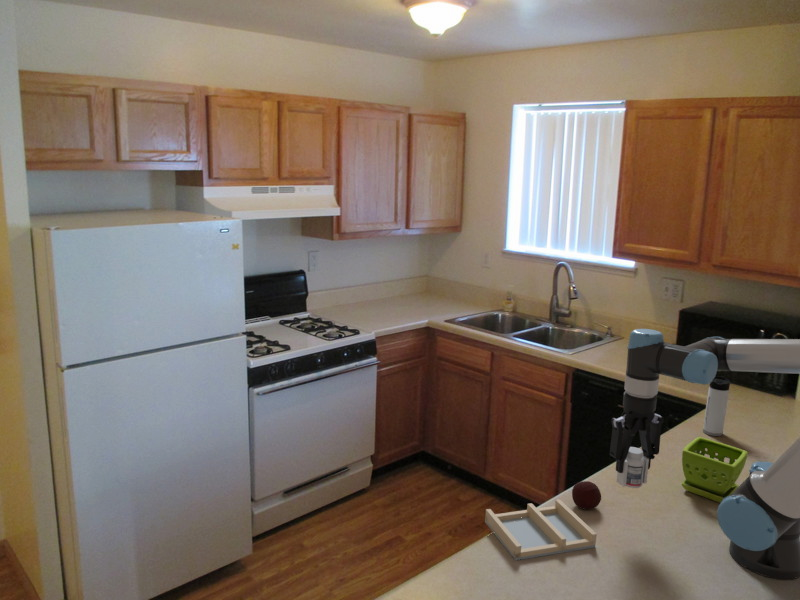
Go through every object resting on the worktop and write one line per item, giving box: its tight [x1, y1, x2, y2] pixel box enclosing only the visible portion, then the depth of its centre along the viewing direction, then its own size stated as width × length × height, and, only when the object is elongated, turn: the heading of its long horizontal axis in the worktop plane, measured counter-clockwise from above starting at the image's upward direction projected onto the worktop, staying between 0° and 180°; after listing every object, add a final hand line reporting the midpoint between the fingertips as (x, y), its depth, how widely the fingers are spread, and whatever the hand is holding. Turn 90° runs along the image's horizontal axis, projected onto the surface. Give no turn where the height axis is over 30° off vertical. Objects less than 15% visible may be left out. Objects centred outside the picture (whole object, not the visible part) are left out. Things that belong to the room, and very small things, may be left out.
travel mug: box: [702, 375, 731, 437], centre depth 219 cm, size 6×7×20 cm
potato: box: [571, 480, 602, 511], centre depth 167 cm, size 7×8×7 cm
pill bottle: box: [625, 446, 645, 489], centre depth 155 cm, size 5×5×9 cm
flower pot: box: [681, 436, 749, 504], centre depth 177 cm, size 14×14×13 cm
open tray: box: [484, 499, 598, 561], centre depth 154 cm, size 16×21×4 cm
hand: (631, 482), depth 156 cm, fingers closed on pill bottle, 5 cm apart
